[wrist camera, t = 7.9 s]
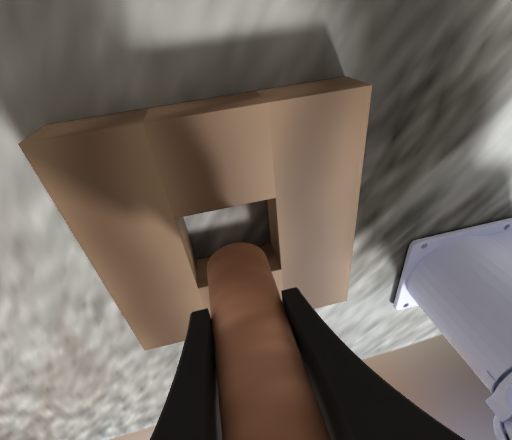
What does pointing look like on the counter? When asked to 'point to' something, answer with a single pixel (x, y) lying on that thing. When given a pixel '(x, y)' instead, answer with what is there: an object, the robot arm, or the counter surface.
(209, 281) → the terracotta peg
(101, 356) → the counter surface
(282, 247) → the walnut socket plate
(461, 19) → the counter surface
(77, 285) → the counter surface
